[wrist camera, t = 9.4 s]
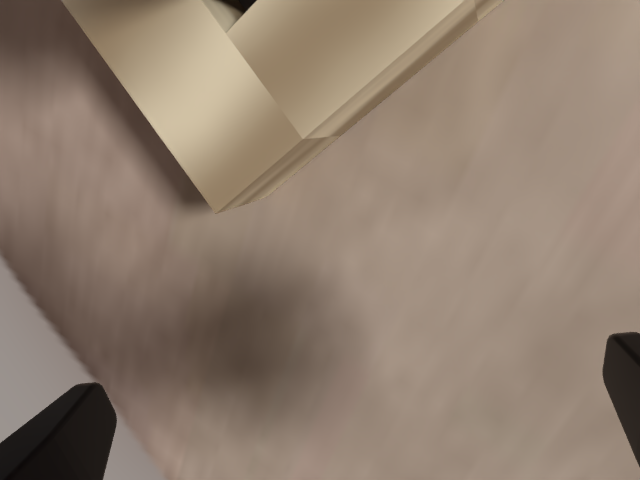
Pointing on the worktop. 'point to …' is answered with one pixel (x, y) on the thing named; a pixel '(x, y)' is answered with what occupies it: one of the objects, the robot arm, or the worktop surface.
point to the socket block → (264, 75)
